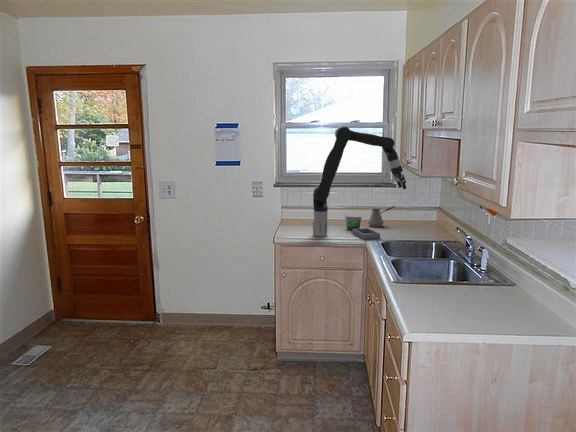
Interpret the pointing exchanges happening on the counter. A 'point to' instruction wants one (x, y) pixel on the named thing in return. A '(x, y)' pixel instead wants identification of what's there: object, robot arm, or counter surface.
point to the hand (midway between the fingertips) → (402, 188)
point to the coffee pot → (377, 218)
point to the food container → (353, 222)
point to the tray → (366, 233)
